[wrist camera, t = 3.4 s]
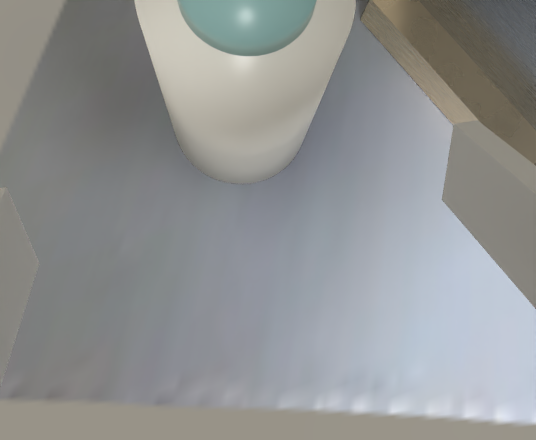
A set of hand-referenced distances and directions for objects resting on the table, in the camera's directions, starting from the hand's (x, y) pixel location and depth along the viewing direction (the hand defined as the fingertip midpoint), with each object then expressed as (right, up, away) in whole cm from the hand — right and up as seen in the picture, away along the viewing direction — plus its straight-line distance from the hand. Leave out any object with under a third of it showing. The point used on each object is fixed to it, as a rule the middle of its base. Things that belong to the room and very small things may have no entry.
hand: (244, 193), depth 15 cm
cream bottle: (-1, +4, +12) cm, 12 cm away
